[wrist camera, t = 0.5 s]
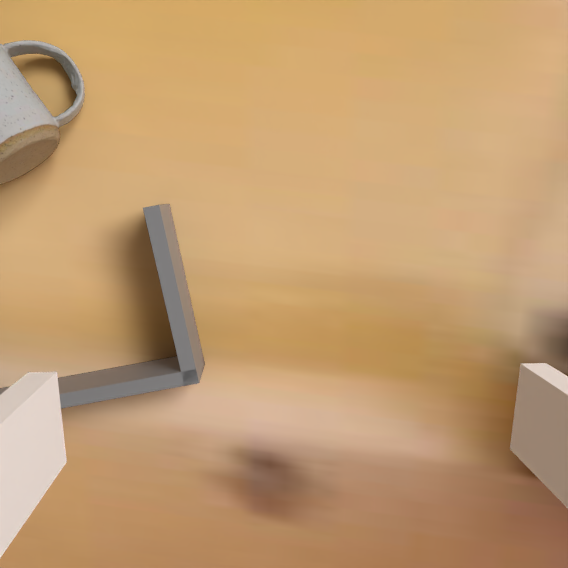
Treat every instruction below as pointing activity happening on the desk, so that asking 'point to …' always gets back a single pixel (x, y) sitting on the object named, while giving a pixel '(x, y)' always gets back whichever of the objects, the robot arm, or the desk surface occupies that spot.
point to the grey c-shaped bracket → (182, 324)
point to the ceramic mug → (30, 111)
